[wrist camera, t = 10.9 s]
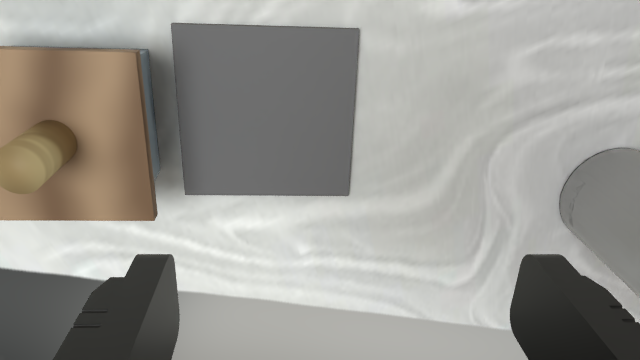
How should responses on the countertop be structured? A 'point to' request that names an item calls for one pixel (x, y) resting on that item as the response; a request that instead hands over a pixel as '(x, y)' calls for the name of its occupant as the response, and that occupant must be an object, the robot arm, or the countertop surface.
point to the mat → (265, 108)
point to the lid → (74, 135)
